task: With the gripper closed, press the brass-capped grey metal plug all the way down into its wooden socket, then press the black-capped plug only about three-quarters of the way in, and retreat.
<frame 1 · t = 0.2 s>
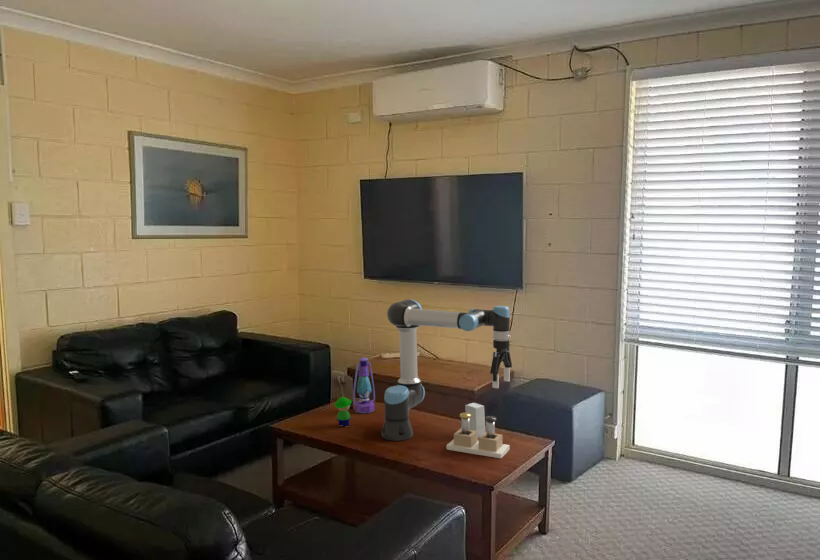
hand: (501, 384, 290), 27 cm above the table, fingers open, 13 cm apart
lantern: (364, 411, 344), on the table
plug black: (490, 427, 280), point 11 cm above the table, slide at 0.0 cm
socket board: (478, 449, 283), on the table
toy: (343, 426, 319), on the table
plug brass: (465, 424, 285), point 11 cm above the table, slide at 0.0 cm
skincare box: (475, 435, 303), on the table
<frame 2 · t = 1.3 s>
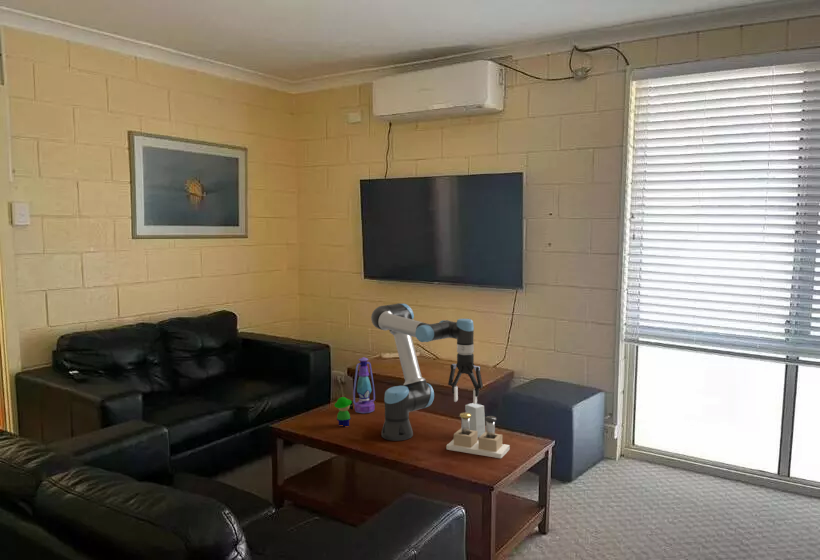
hand: (465, 401, 284), 21 cm above the table, fingers open, 9 cm apart
nothing on the table moved.
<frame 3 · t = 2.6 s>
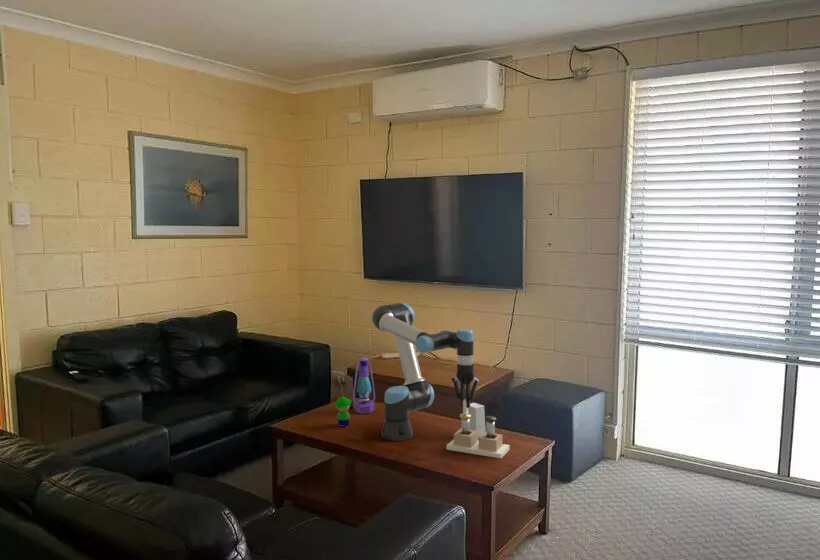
hand: (465, 414, 285), 16 cm above the table, fingers closed
plug brass: (465, 424, 285), point 11 cm above the table, slide at 0.3 cm, touching gripper
everything else where it was.
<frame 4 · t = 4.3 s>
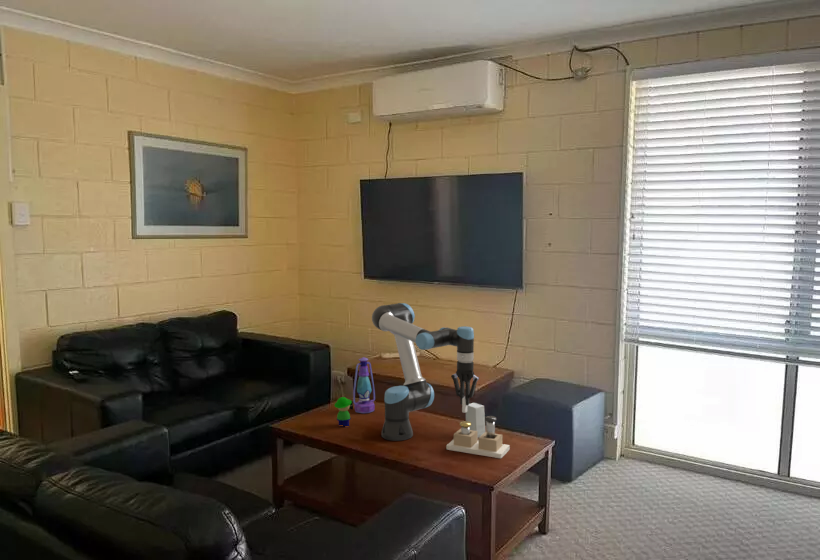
hand: (464, 411, 285), 17 cm above the table, fingers closed
plug brass: (465, 432, 286), point 7 cm above the table, slide at 4.0 cm
everything else where it was.
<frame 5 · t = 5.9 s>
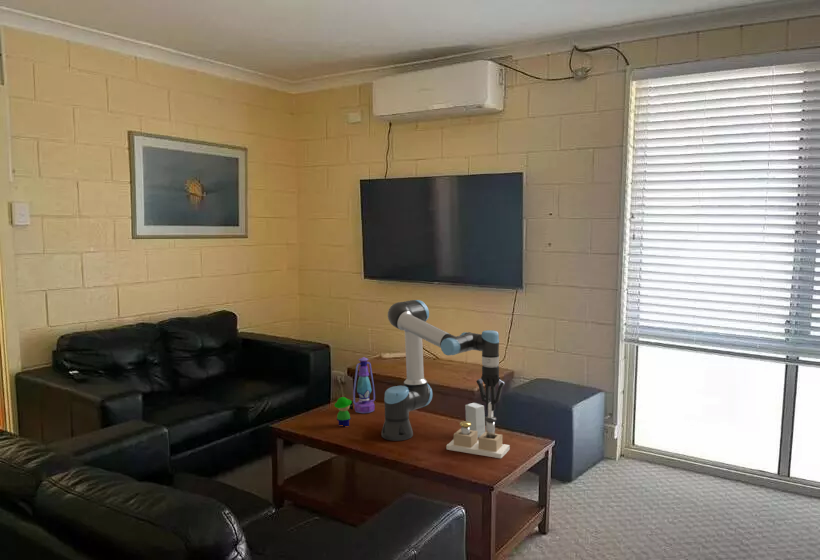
hand: (490, 417, 279), 16 cm above the table, fingers closed
plug black: (490, 427, 280), point 11 cm above the table, slide at 0.0 cm, touching gripper
everything else where it was.
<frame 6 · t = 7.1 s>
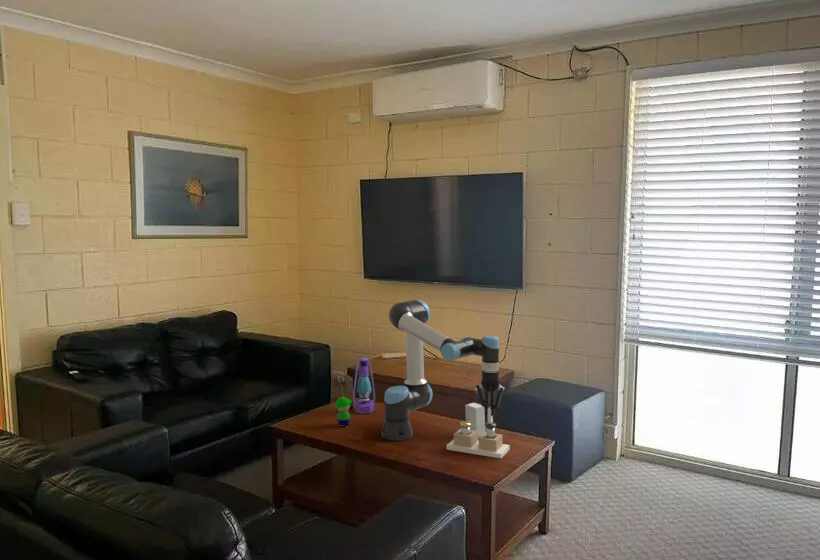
hand: (490, 422, 280), 13 cm above the table, fingers closed
plug black: (490, 433, 280), point 8 cm above the table, slide at 2.8 cm
everything else where it was.
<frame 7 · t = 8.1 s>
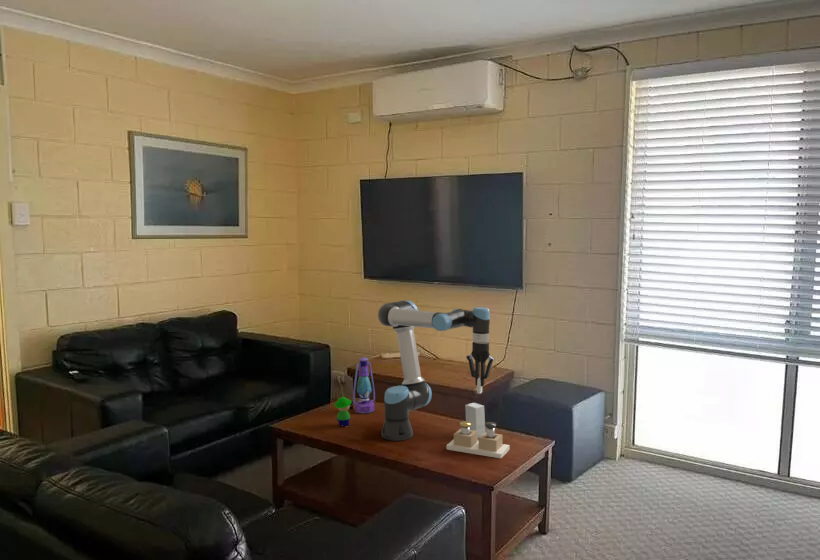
hand: (479, 392, 284), 26 cm above the table, fingers closed
nothing on the table moved.
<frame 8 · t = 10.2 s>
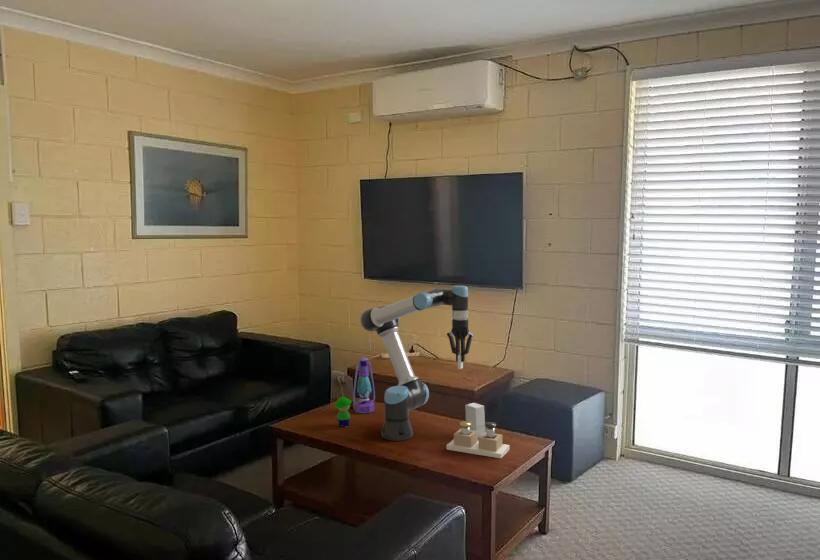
hand: (460, 368, 294), 34 cm above the table, fingers closed
nothing on the table moved.
at the end: plug brass slide at 4.0 cm; plug black slide at 2.8 cm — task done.
